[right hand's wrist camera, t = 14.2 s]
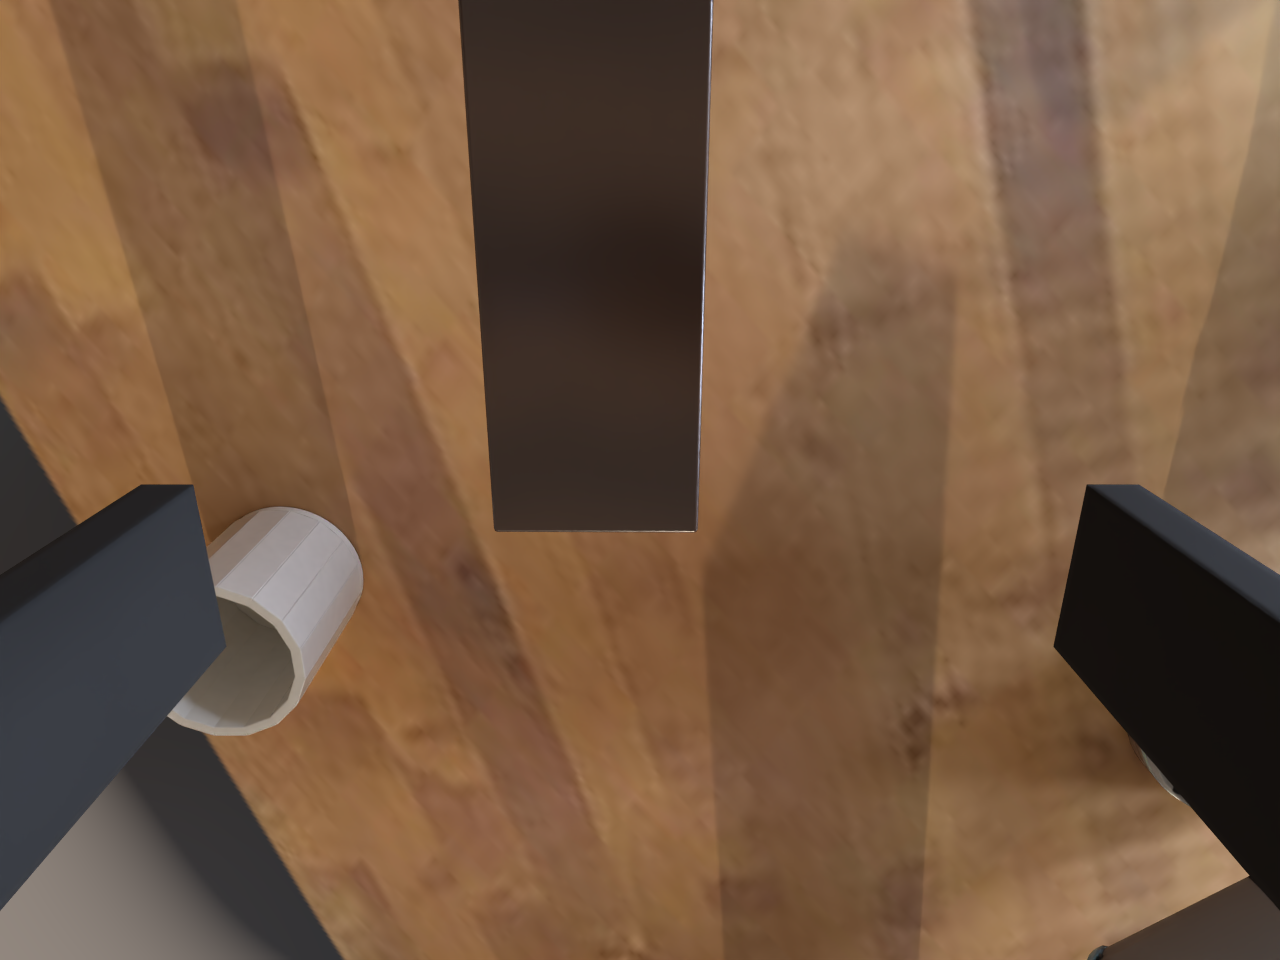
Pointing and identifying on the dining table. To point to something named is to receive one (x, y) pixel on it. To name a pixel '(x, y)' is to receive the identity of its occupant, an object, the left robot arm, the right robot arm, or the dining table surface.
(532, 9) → the walnut box
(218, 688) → the ceramic cup
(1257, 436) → the dining table surface
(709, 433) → the dining table surface
